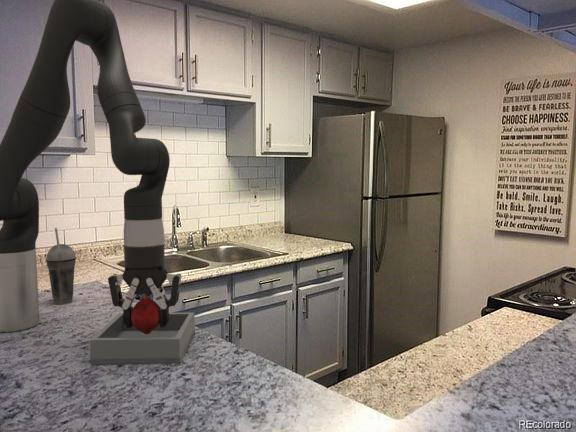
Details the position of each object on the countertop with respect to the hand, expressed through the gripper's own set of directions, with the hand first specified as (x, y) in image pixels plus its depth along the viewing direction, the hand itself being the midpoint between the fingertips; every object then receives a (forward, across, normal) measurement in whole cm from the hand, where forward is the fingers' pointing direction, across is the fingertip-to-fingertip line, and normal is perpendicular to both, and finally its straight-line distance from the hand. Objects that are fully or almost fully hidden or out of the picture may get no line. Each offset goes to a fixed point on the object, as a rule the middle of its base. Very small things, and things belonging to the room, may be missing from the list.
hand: (146, 326), depth 92 cm
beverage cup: (+4, -31, +33) cm, 45 cm away
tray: (+4, 0, 0) cm, 4 cm away
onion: (+2, 0, 0) cm, 2 cm away
